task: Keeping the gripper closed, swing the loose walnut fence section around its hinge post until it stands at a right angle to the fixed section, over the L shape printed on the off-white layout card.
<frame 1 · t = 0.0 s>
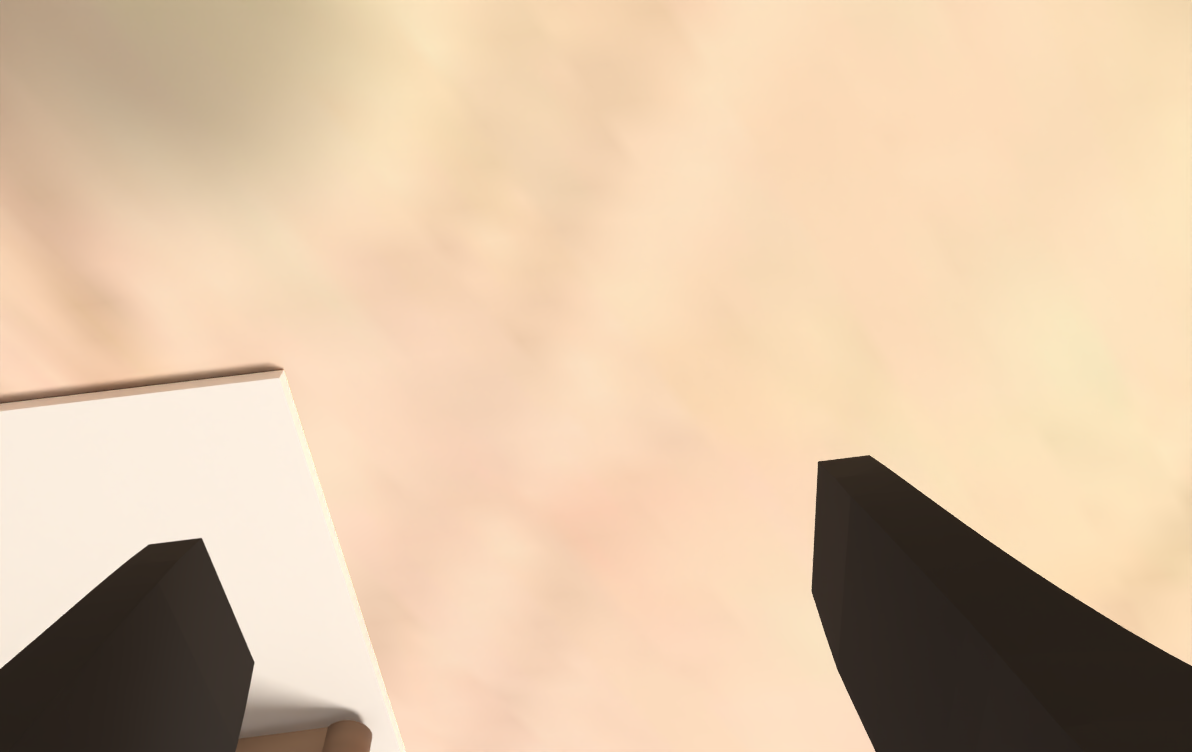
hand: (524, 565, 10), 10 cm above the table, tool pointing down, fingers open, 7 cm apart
layout card: (3, 711, 24), on the table
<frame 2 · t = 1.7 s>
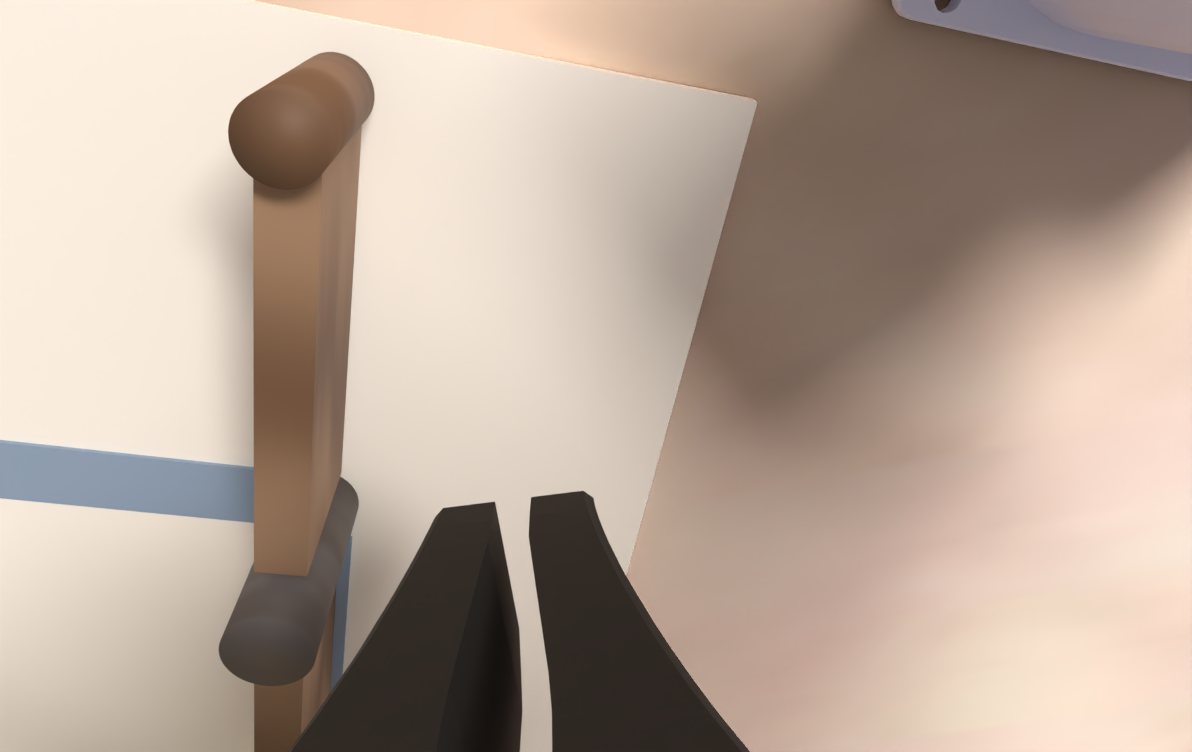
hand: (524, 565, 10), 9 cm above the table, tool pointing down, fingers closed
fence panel: (304, 329, 15), point 3 cm above the table, hinge at -90.0°
layout card: (240, 482, 20), on the table
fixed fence: (324, 491, 20), resting on layout card
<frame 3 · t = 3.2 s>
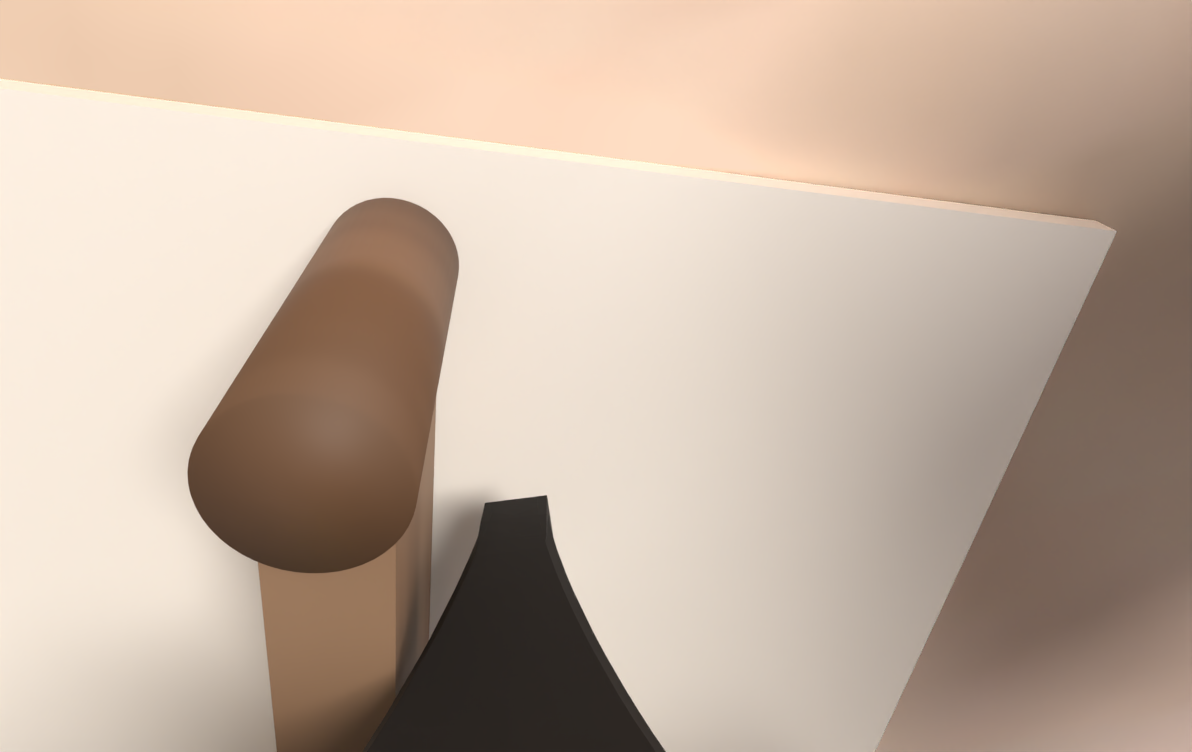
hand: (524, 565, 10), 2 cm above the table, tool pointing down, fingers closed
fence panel: (366, 674, 9), point 3 cm above the table, hinge at -88.4°, touching gripper
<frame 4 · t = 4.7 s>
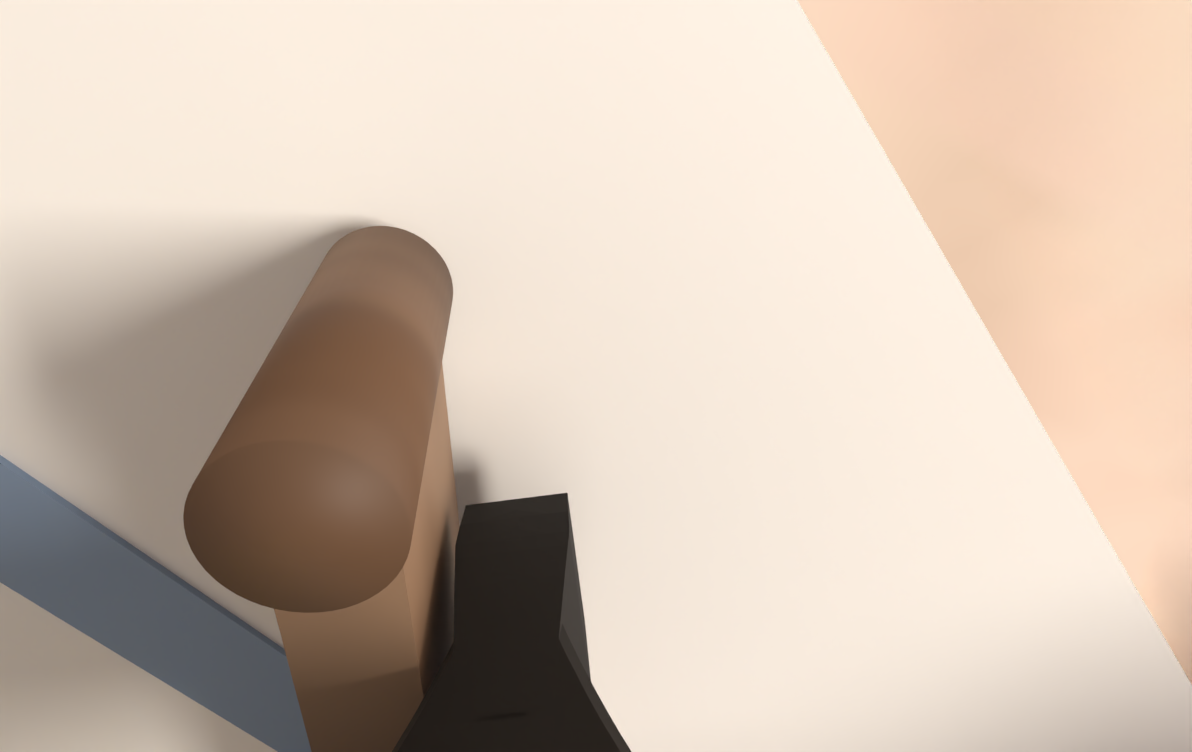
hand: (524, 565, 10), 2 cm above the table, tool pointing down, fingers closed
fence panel: (407, 697, 9), point 3 cm above the table, hinge at -37.2°, touching gripper
layout card: (382, 740, 13), on the table
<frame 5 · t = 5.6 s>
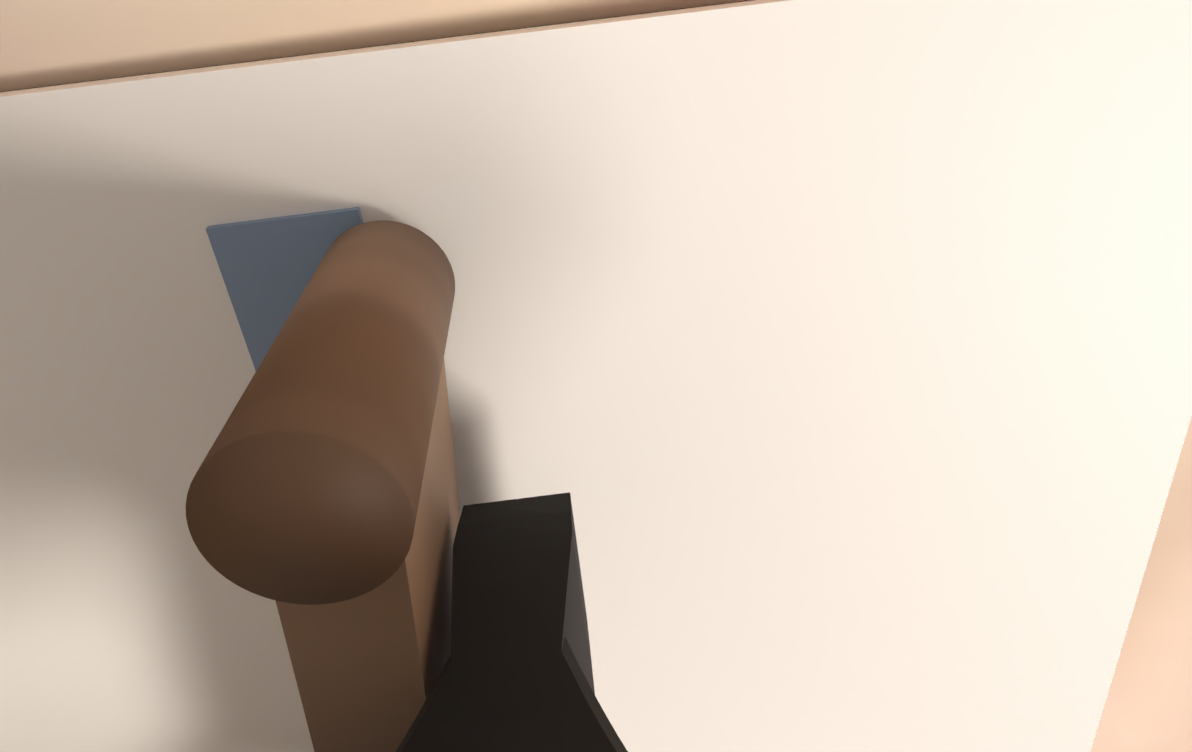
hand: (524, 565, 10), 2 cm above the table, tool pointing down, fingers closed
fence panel: (408, 692, 9), point 3 cm above the table, hinge at -5.8°, touching gripper
layout card: (443, 715, 13), on the table
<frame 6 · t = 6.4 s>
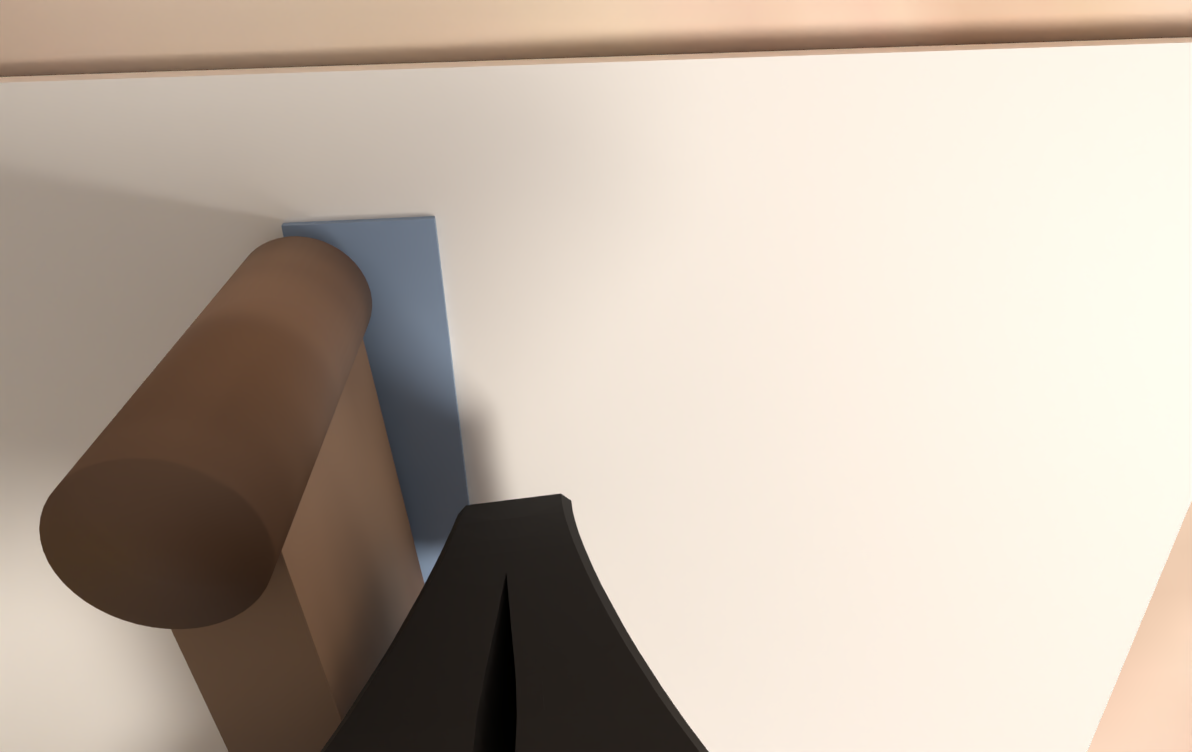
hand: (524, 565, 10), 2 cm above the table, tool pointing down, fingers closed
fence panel: (356, 704, 9), point 3 cm above the table, hinge at 3.6°, touching gripper
layout card: (448, 719, 13), on the table
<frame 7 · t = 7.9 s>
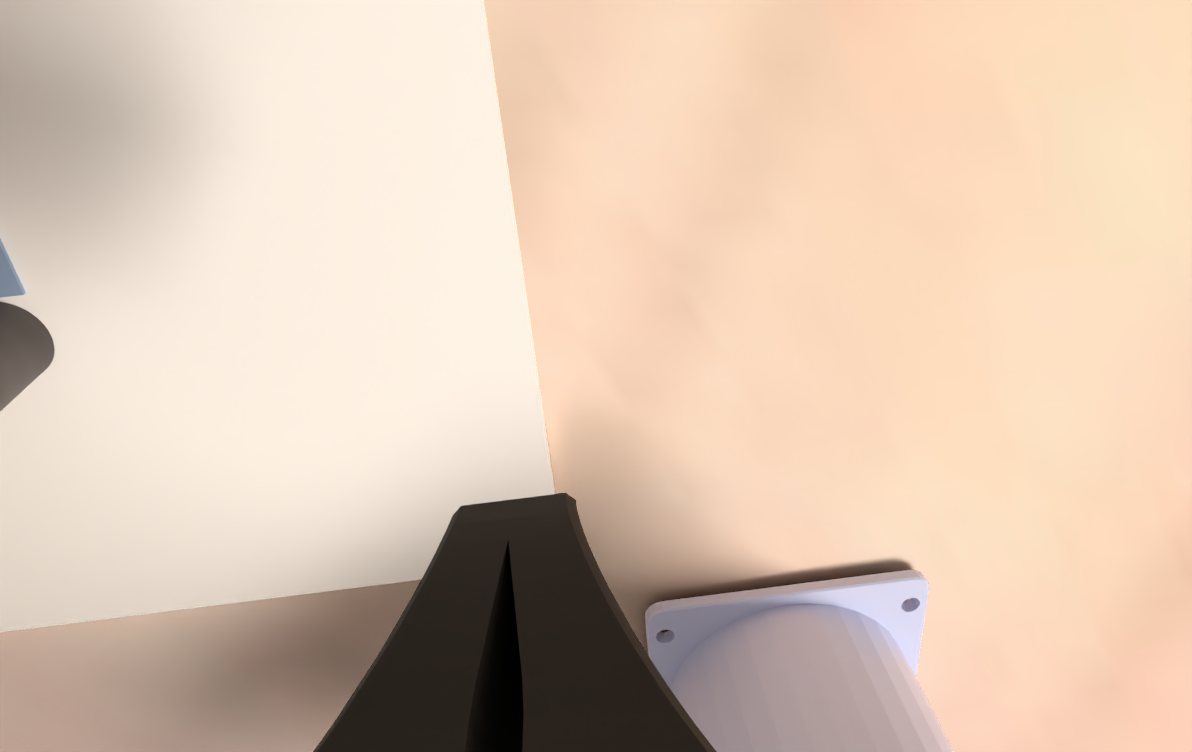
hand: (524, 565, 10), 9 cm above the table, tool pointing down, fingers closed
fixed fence: (18, 332, 18), resting on layout card
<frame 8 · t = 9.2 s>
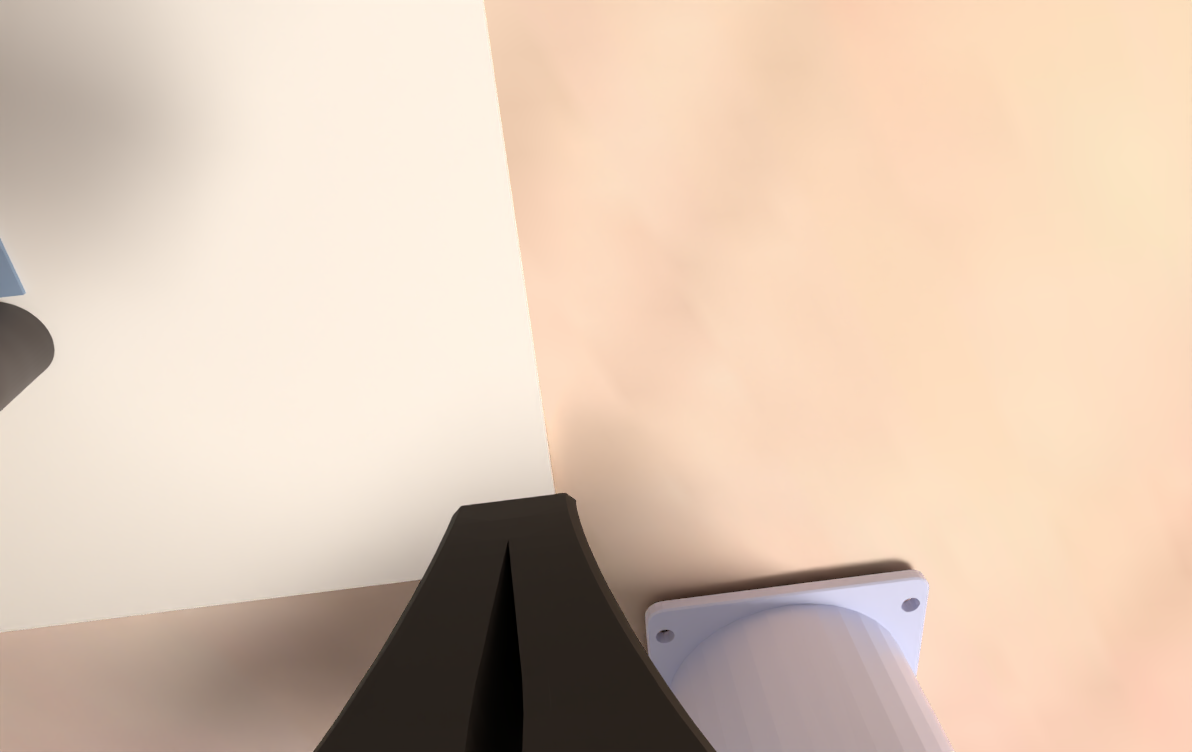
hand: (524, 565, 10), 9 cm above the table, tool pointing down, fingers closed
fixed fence: (18, 332, 18), resting on layout card
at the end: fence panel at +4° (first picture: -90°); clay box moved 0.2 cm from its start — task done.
